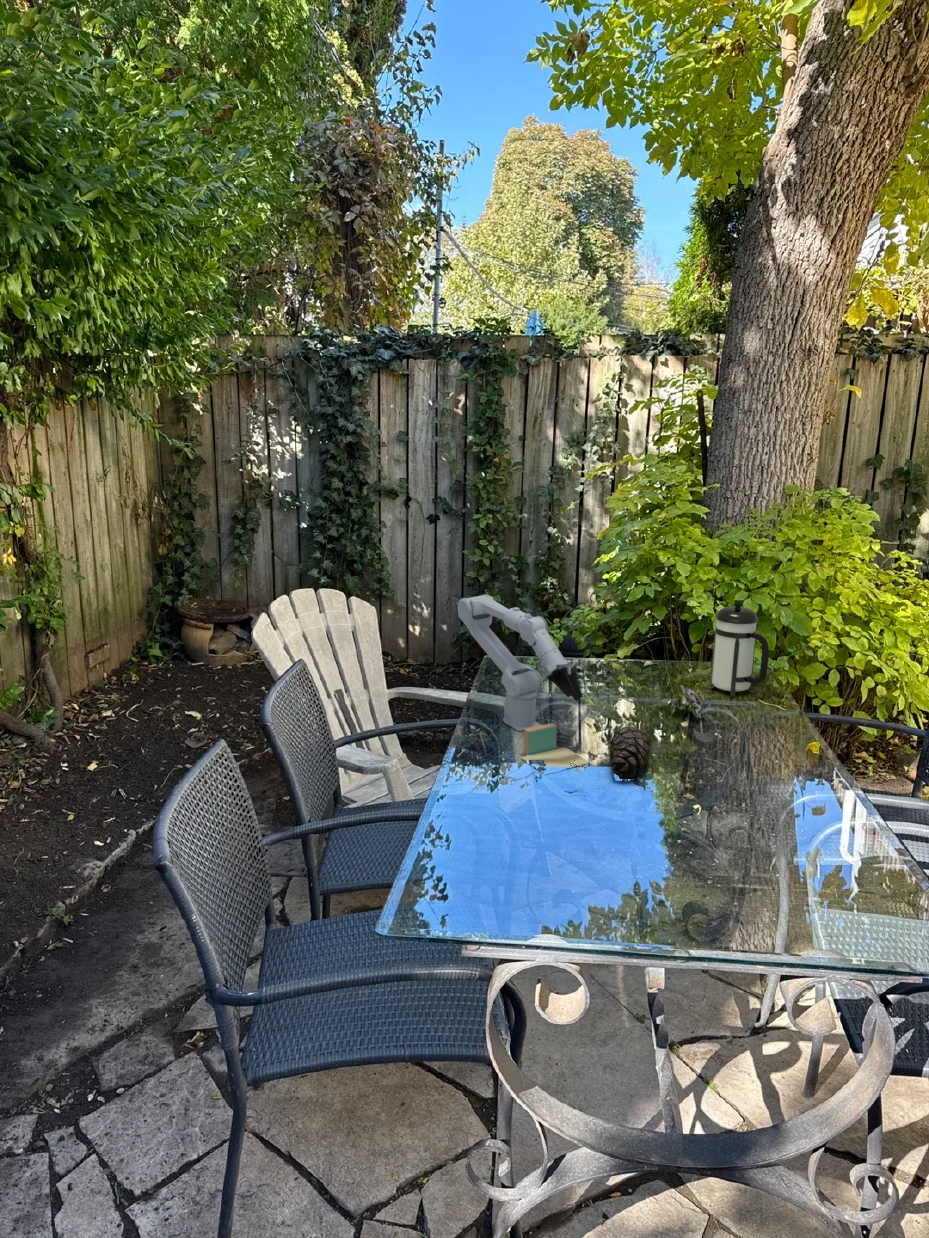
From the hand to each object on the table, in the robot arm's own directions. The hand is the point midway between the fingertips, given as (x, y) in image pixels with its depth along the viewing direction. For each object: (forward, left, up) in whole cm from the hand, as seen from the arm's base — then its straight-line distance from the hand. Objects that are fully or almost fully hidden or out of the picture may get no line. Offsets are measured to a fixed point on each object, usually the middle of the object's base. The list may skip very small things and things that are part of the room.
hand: (575, 696), depth 210 cm
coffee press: (-12, +72, -15) cm, 75 cm away
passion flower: (-3, +42, -15) cm, 45 cm away
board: (+5, -10, -14) cm, 18 cm away
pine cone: (+18, +4, -15) cm, 24 cm away
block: (-2, -10, -14) cm, 17 cm away
